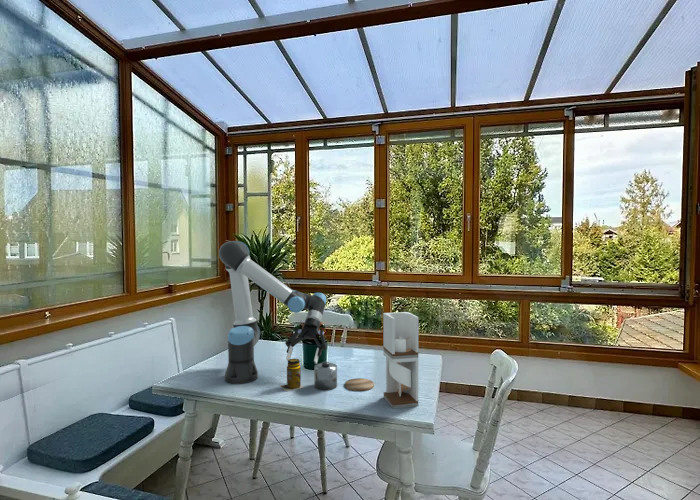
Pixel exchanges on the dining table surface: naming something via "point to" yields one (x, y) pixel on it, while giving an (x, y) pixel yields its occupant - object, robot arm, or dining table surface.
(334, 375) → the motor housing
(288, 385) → the condiment
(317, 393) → the dining table surface
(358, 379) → the tan plate
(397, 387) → the display case
